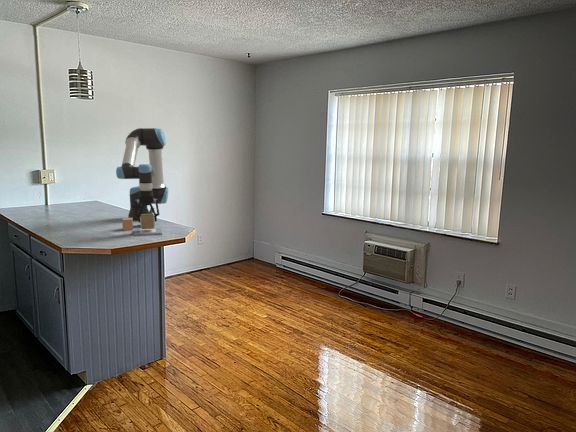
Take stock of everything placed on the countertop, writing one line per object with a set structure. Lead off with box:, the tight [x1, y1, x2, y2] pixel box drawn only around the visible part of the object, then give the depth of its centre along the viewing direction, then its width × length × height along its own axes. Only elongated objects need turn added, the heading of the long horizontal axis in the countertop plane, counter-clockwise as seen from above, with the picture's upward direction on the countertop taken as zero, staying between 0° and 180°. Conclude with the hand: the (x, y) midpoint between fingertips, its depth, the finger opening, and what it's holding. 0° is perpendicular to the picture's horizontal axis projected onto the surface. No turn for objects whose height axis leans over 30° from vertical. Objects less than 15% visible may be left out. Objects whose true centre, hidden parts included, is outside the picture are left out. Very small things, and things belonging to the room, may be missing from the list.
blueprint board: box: [133, 227, 163, 237], centre depth 272 cm, size 16×16×1 cm
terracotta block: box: [121, 217, 134, 232], centre depth 281 cm, size 6×6×7 cm
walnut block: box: [141, 214, 155, 229], centre depth 271 cm, size 7×7×8 cm
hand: (147, 227), depth 272 cm, fingers closed on walnut block, 7 cm apart
